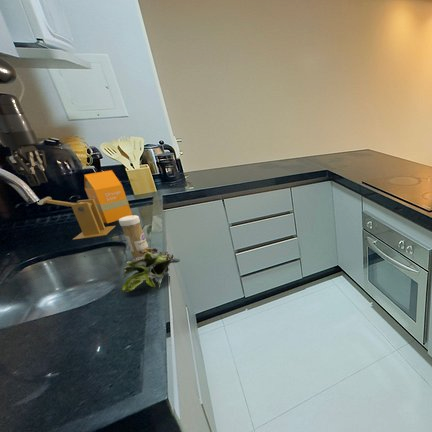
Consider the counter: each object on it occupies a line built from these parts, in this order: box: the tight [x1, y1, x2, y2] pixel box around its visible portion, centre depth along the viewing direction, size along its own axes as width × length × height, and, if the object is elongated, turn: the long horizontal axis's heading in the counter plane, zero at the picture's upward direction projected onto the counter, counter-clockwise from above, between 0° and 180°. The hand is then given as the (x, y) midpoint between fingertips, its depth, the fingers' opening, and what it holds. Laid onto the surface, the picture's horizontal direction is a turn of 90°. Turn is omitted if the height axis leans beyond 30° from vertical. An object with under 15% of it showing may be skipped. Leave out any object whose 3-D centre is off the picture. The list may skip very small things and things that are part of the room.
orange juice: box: [83, 169, 133, 224], centre depth 117 cm, size 8×9×20 cm
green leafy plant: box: [121, 247, 181, 294], centre depth 76 cm, size 11×11×12 cm
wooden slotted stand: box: [70, 198, 116, 241], centre depth 105 cm, size 9×9×13 cm
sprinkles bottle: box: [118, 214, 150, 261], centre depth 88 cm, size 5×5×13 cm
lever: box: [36, 196, 92, 208], centre depth 101 cm, size 12×5×2 cm, turn 113°
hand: (39, 184), depth 96 cm, fingers open, 3 cm apart
